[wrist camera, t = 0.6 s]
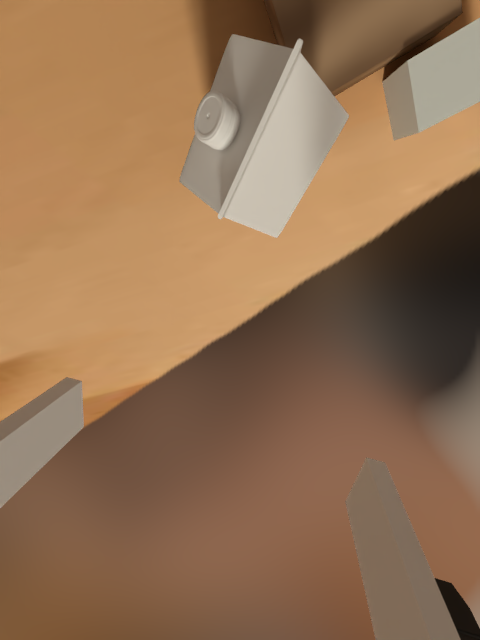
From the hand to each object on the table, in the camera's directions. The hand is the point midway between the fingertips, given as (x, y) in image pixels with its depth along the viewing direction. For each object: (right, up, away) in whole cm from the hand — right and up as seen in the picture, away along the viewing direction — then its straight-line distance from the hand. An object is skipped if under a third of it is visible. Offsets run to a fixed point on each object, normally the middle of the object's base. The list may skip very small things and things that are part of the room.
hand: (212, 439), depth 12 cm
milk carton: (+4, +22, +16) cm, 28 cm away
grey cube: (+18, +26, +12) cm, 34 cm away
